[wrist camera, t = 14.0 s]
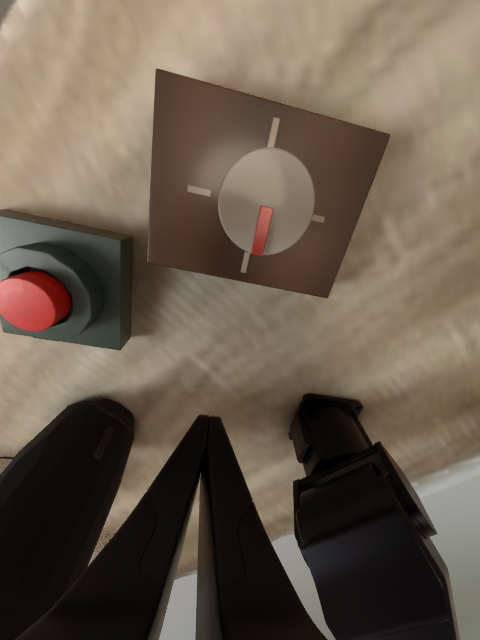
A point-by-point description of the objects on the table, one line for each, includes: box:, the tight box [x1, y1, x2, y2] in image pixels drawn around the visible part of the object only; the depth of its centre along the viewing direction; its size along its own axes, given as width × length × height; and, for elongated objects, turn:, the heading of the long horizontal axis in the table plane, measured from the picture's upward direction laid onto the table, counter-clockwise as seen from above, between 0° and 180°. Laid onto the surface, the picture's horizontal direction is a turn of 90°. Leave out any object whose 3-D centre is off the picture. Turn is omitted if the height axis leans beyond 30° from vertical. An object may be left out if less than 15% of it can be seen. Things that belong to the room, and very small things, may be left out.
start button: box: [0, 271, 71, 331], centre depth 16 cm, size 4×4×2 cm
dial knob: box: [218, 147, 315, 256], centre depth 13 cm, size 4×4×5 cm
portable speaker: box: [0, 399, 134, 640], centre depth 18 cm, size 9×9×20 cm
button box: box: [0, 209, 132, 350], centre depth 18 cm, size 9×9×4 cm
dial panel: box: [147, 69, 390, 298], centre depth 16 cm, size 13×10×3 cm
